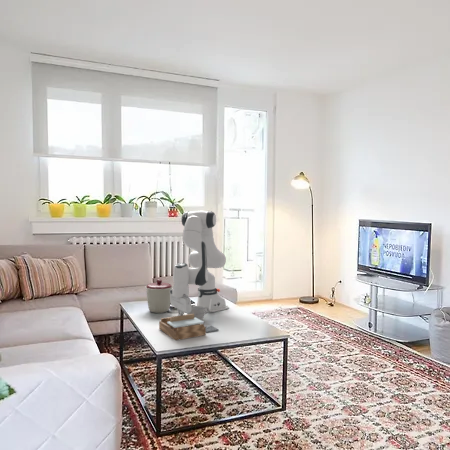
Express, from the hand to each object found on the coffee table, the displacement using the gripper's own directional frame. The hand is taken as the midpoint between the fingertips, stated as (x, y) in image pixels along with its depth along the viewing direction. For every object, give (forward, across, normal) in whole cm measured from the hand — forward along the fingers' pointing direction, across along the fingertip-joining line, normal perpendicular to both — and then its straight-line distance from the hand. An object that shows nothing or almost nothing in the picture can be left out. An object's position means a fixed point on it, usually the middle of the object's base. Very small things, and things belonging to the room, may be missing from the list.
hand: (180, 317), depth 247 cm
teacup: (+8, +16, -19) cm, 26 cm away
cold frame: (+8, -2, 0) cm, 8 cm away
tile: (+8, -6, -15) cm, 18 cm away
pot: (+8, +4, 0) cm, 9 cm away
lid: (+2, -6, 0) cm, 6 cm away
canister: (+8, +46, -6) cm, 47 cm away
